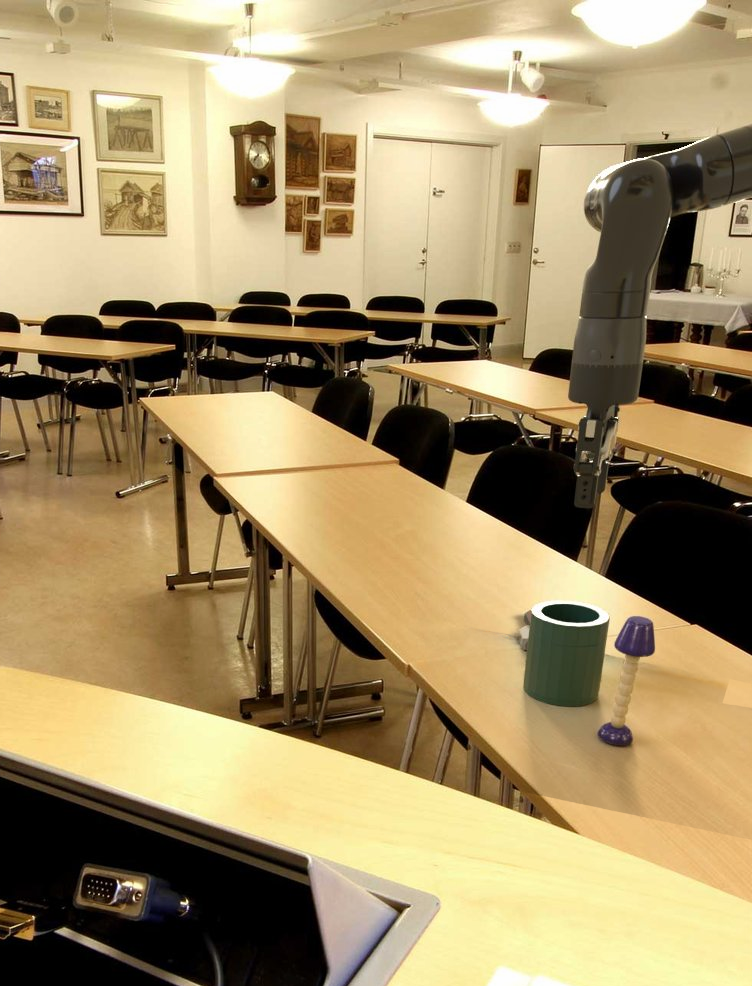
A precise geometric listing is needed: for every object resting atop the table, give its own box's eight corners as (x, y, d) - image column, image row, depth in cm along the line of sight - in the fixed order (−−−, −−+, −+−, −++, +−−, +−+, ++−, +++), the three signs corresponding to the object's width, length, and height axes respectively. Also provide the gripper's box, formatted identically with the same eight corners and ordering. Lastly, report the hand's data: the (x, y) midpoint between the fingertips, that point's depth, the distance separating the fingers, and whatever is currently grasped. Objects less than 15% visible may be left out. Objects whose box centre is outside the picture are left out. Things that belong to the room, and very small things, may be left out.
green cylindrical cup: (605, 685, 132) (616, 608, 128) (588, 712, 125) (600, 631, 120) (534, 671, 138) (543, 596, 133) (514, 696, 130) (522, 617, 125)
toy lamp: (637, 734, 119) (660, 615, 112) (636, 750, 115) (659, 628, 108) (598, 727, 120) (618, 610, 114) (596, 743, 117) (616, 622, 110)
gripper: (635, 366, 96) (615, 516, 102) (649, 353, 107) (630, 489, 113) (561, 364, 99) (545, 510, 105) (582, 353, 111) (567, 484, 117)
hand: (589, 499), depth 109 cm, fingers open, 8 cm apart
